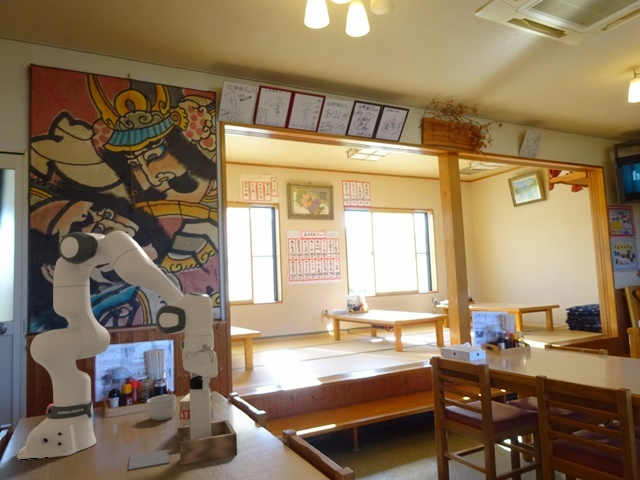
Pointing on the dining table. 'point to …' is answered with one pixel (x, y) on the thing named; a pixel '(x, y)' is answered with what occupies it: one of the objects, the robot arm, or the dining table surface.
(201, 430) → the travel mug
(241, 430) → the dining table surface
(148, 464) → the grey square plate
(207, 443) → the walnut box
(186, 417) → the stack of blocks
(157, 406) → the teacup
